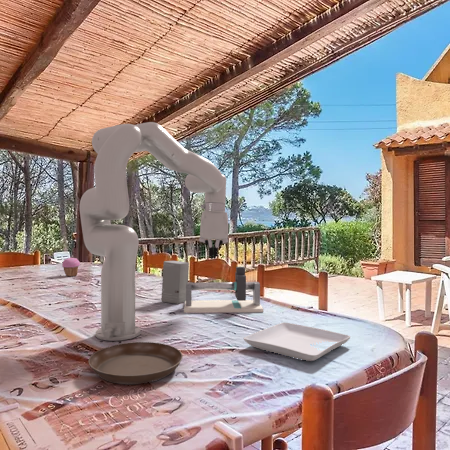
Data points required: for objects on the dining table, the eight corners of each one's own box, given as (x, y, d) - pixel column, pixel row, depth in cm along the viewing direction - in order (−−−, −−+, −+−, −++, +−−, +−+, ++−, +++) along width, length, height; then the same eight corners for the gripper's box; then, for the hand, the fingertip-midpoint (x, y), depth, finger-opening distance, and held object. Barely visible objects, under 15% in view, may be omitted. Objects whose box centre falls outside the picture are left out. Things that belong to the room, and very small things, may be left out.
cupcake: (83, 275, 221) (83, 257, 220) (69, 278, 213) (69, 258, 213) (72, 274, 225) (72, 256, 225) (58, 276, 218) (58, 257, 218)
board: (263, 312, 145) (263, 308, 145) (183, 312, 143) (184, 309, 143) (257, 303, 159) (257, 299, 159) (185, 303, 157) (185, 300, 157)
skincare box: (161, 302, 159) (161, 261, 159) (171, 298, 166) (171, 259, 165) (179, 304, 155) (179, 263, 155) (189, 300, 162) (189, 261, 161)
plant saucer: (185, 353, 103) (185, 340, 103) (179, 390, 82) (179, 373, 82) (102, 354, 102) (102, 341, 102) (75, 391, 82) (75, 375, 81)
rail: (259, 305, 150) (260, 282, 149) (185, 306, 148) (185, 283, 147) (258, 302, 154) (258, 280, 153) (186, 303, 152) (186, 281, 151)
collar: (245, 300, 147) (246, 268, 146) (237, 300, 147) (237, 268, 146) (243, 295, 156) (243, 265, 155) (235, 295, 155) (235, 265, 155)
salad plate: (283, 331, 123) (283, 320, 123) (351, 347, 109) (352, 334, 109) (240, 350, 106) (241, 337, 106) (315, 370, 93) (315, 355, 93)
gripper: (194, 207, 145) (192, 258, 145) (236, 208, 146) (234, 260, 146) (194, 207, 152) (192, 257, 152) (234, 209, 153) (232, 258, 153)
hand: (213, 258), depth 149 cm, fingers closed
